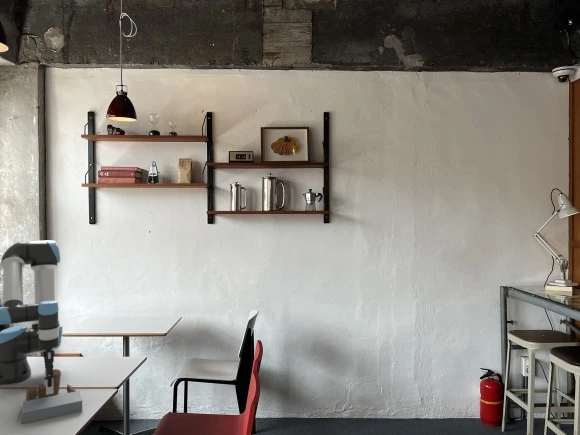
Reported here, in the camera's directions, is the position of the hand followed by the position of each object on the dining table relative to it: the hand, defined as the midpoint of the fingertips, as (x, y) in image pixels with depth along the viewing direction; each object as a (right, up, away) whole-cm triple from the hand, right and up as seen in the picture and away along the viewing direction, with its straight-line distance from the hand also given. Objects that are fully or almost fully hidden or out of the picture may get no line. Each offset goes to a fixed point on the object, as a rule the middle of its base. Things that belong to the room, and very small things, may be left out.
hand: (49, 388), depth 185 cm
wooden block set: (+2, -3, -3) cm, 4 cm away
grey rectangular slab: (+10, -3, -16) cm, 19 cm away
